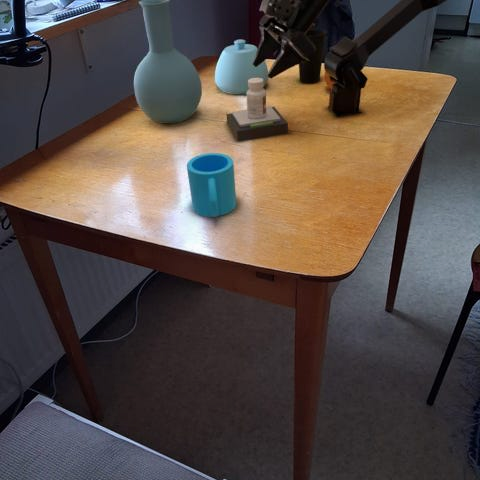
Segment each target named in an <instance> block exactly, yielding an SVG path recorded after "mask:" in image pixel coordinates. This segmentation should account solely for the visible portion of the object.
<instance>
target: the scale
mask: <svg viewBox="0 0 480 480" xmlns="http://www.w3.org/2000/svg"><path fill="white" fill-rule="evenodd" d="M225 117H226V125H227V126H228V128H229V130H230V132H231V134H232V135H233V136H234V138H235V140H236V141H237V142H244V141H251V140H256V139H261V138H268V137H269V138H270V137H274V136H280V135H281V136H282V135H287V134H289V122H288V121H287V120H286V118H284V116H283V115H282V114H281V113H280V112H279V110H278V109H277V108H276V107H275V106H271V105H266V116H264V117H262V118H258V119H253V118H250V117H248V115H247V108H246V109H240V110H239V109H238V110H233V111H231V113H226V114H225Z"/></svg>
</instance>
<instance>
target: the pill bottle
mask: <svg viewBox="0 0 480 480" xmlns="http://www.w3.org/2000/svg"><path fill="white" fill-rule="evenodd" d="M263 85H264V83H263V79H262V78H251V79H249V80H248V88H249V90H248V91H247V94H246V109H247V115H248V117H250V118H253V119H258V118H262V117H264V116H266V106H267V91H266V89H265V88H264V87H265V86H263Z"/></svg>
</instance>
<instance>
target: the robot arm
mask: <svg viewBox="0 0 480 480" xmlns="http://www.w3.org/2000/svg"><path fill="white" fill-rule="evenodd" d="M330 1H331V0H262V1H261V4H260V7H259V9H258V10H259V12H262V13H263V16H262V17H261V19H260V20H259V22H258V23H259V24H260V25H259V31H260V41H259V44H258V47H257V49H258V50H257V52H256V55H255V58H254V61H253V65H254V66H255V67H257V66H258V65H260V64H261V63H262V62H264V61H265V62H266V60H267V59H268V58H270V57H271V56H272V55H273V54H275V53H276V52H277V51H278V50H280V51H279V53H278V55H277V56H276V58H275V60H274V62H273V63H272V66H271V67H270V69H269V70H268V74H267V76H268V77H269V79H274V78H275V77H277V76H279V75H280V74H282V73H284V72H285V71H288V70H290V69H291V68H294V67H296V66H298V65H299V63H302V62H303V63H304V62H305V60H304V59H303V58H305V59H307V60H308V61H310V60H311V58H312V57H313V56H314V54H315V51H316V46H315V45H314V44H313V43H312V42H311V40H310V39H309V38H308V37H307V36H306V35H305V34H306V32H307V31H308V30H309V29H311V27H312V26H315V27H316V26H317V25H318V24H319V23H320V21H319V20H318V18H319V16H320V15H321V13H322V12H323V11H324V9H326V7H327V5H328V4H329V2H330ZM337 1H338V2H342V1H343V0H337ZM447 1H448V0H400V1H399V2H397V3H396V4H395V5H394V6H393V7H391V9H389V10H388V11H387V12H386V13H384V14H383V15H382V16H381V17H380V18H379V19H378V20H377V21H375V22H374V23H373V24H372V25H370V26H369V27H368V28H367V29H366V30H364V31H363V33H361V34H360V35H359V36H358V37H356V38H354V39H351V38H348V37H346V36H342V38H341V39H340V40H338V42H337V43H336V44H335V45H333V46H330V47H329V50H330V51H328V53H326V55H325V57H324V62H323V69H324V73H325V72H326V73H327V74H328V75H329V78H330V81H333V82H334V83H335V84H332V89H331V91H329V98H328V101H329V102H328V106H327V109H328V110H329V111H330V112H331V113H332V114H333V115H334V116H335V117H338V118H340V117H346V116H352V115H359V114H362V112H363V110H362V109H361V108H360V106H361V105H360V104H361V95H362V89H365V87H366V86H367V82H368V80H369V79H368V77H367V76H366V74H365V73H364V72H363V71H362V70H363V69H364V68H365V65H366V63H367V62H368V60H369V57H370V56H371V55H373V53H375V52H376V51H377V50H378V49H379V48H380V47H382V46H383V45H384V44H385V43H387V42H388V41H389V40H390V39H392V37H394V36H395V35H396V34H398V33H399V32H400V31H401V30H402V29H403V28H405V27H406V25H408V24H409V23H411V22H412V21H413V20H414V19H416V17H417V16H419V15H420V14H422V13H423V12H425V11H428V10H430V9H433V8H436V7H438V6H440V5H442V4H443V3H445V2H447Z"/></svg>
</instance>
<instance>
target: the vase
mask: <svg viewBox="0 0 480 480" xmlns="http://www.w3.org/2000/svg"><path fill="white" fill-rule="evenodd" d="M170 3H171V0H140V1H138V4H139V5H140V6H141V8H142V13H143V19H144V25H145V30H146V36H147V41H148V45H149V50H148V53H147V54H146V56H144V57H143V59H142V60H141V61H140V63H139V64H138V65H137V67H136V70H135V72H134V77H133V89H134V96H135V99H136V103H137V104H138V106H139V108H140V110H141V111H142V112H143V113H144V114H145V115H146V116H147V118H149V119H151V120H153V121H154V122H156V123H159V124H160V123H161V124H174V123H175V124H176V123H180V122H183V121H186V120H187V119H189V118H191V117H192V116H193V115H194V114H195V112H196V111H197V109H198V107H199V105H200V103H201V101H202V96H203V86H202V80H201V77H200V74H199V73H198V70H197V68H196V66H195V65H194V64H193V62H192V61H191V60H190V59H189V58H187V56H185V55H184V54H182V53H181V52H179V51H178V50H177V48H175V45H174V38H173V37H174V36H173V29H172V20H171V18H172V17H171V13H170V12H171V11H170V7H169V6H170V5H169V4H170Z"/></svg>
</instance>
